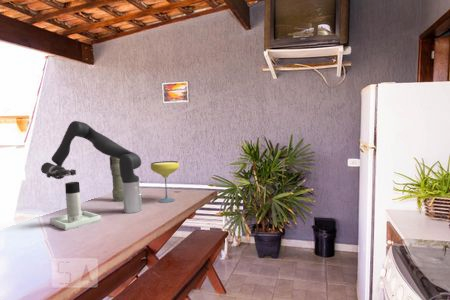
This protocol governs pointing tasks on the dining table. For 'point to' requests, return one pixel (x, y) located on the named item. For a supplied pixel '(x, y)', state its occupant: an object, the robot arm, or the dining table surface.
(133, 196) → the robot arm
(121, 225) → the dining table surface
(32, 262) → the dining table surface
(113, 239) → the dining table surface
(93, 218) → the sage tray
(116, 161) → the olive green statue
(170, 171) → the cocktail glass
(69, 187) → the spray can
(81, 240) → the dining table surface
